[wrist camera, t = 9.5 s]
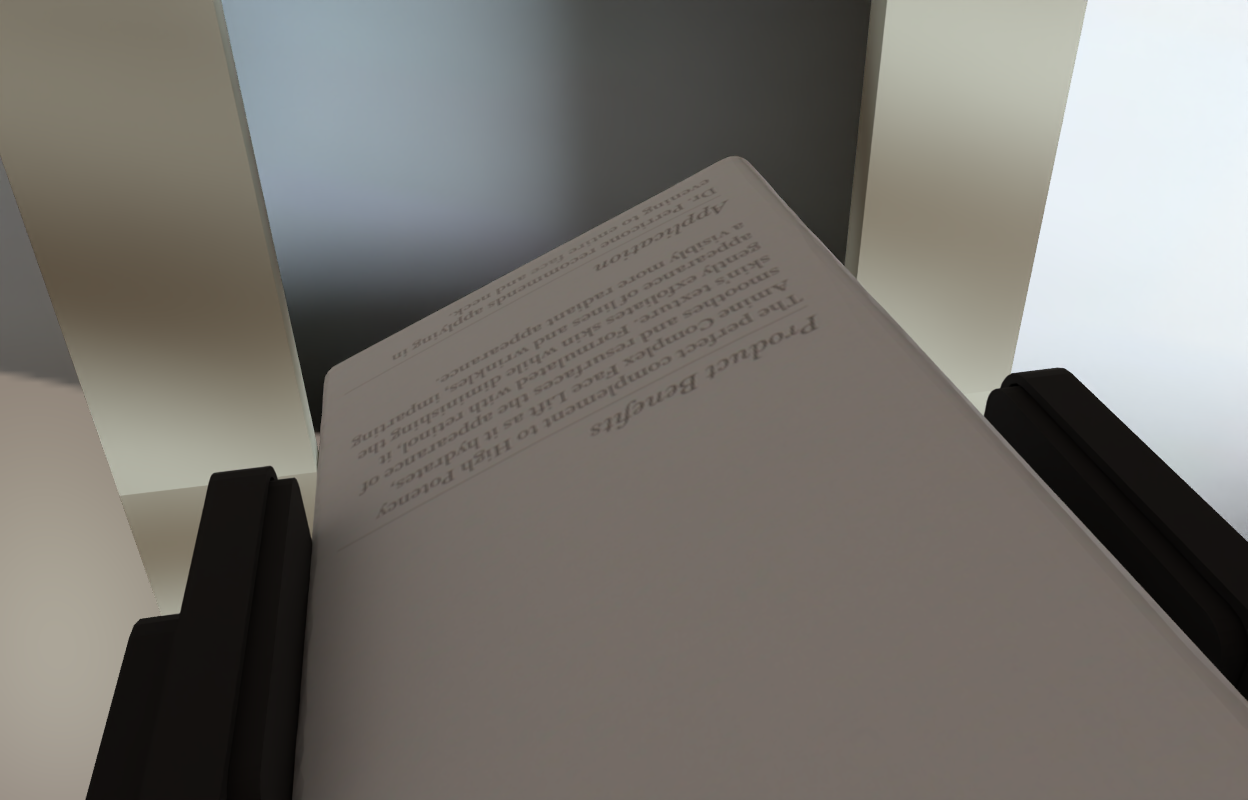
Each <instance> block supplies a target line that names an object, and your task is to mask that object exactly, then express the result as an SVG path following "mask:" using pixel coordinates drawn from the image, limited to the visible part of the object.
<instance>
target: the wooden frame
mask: <svg viewBox="0 0 1248 800" xmlns="http://www.w3.org/2000/svg"><path fill="white" fill-rule="evenodd" d="M1087 1H1088V0H871V10H870V20H869V30H868V40H867V49H866V59H865V69H864V79H863V89H862V99H861V109H860V119H859V129H858V138H857V148H856V158H855V168H854V178H853V188H852V198H851V208H850V217H849V227H848V237H847V247H846V257H845V267H846V268H847V269H848V270H849V272H850V273H851V274H852V275H853V276H854V277H855V278H856V279H857V280H858V281H859V283H860V284H861V285H862V286H863V287H864V288H865V289H866V290H867V292H868V293H869V294H870V295H871V296H872V297H873V298H874V299H875V300H876V301H877V302H878V303H879V304H880V305H881V306H882V307H883V308H884V309H885V310H886V311H887V312H888V313H889V315H890V316H891V317H892V318H893V319H894V320H895V321H896V322H897V323H898V324H899V325H900V326H901V327H902V328H903V329H904V331H905V332H906V333H907V334H908V335H909V336H910V337H911V338H912V339H913V340H914V341H915V342H916V343H917V345H918V346H919V347H920V348H921V349H922V350H923V351H924V352H925V353H926V354H927V355H928V356H929V358H930V359H931V360H932V361H933V362H934V363H935V364H936V365H937V366H938V367H939V368H940V369H941V371H942V372H943V373H944V374H945V375H946V376H947V377H948V378H949V379H950V380H951V381H952V382H953V383H954V385H955V386H956V387H957V388H958V389H959V390H960V391H961V392H962V393H963V394H964V395H965V396H966V397H967V399H968V400H969V401H970V402H971V403H972V404H973V405H974V406H975V407H976V408H977V409H978V410H979V412H980V413H981V414H982V415H983V416H984V412H985V407H986V402H987V399H988V396H989V394H990V393H991V391H992V390H994V389H998V388H1000V387H1001V384H1002V382H1003V380H1004V379H1005V378H1006V376H1008V375H1010V374H1011V369H1012V364H1013V359H1014V354H1015V349H1016V345H1017V340H1018V335H1019V330H1020V325H1021V320H1022V315H1023V311H1024V306H1025V301H1026V296H1027V291H1028V286H1029V282H1030V277H1031V272H1032V267H1033V262H1034V257H1035V253H1036V248H1037V243H1038V238H1039V233H1040V228H1041V223H1042V219H1043V214H1044V209H1045V204H1046V199H1047V194H1048V190H1049V185H1050V180H1051V175H1052V170H1053V165H1054V161H1055V156H1056V151H1057V146H1058V141H1059V136H1060V132H1061V127H1062V122H1063V117H1064V112H1065V107H1066V102H1067V98H1068V93H1069V88H1070V83H1071V78H1072V73H1073V69H1074V64H1075V59H1076V54H1077V49H1078V44H1079V40H1080V35H1081V30H1082V25H1083V20H1084V15H1085V10H1086V6H1087ZM0 156H1V159H2V162H3V165H4V168H5V170H6V173H7V176H8V179H9V182H10V185H11V188H12V190H13V193H14V196H15V199H16V202H17V205H18V208H19V210H20V213H21V216H22V219H23V222H24V225H25V228H26V230H27V233H28V236H29V239H30V242H31V245H32V248H33V250H34V253H35V256H36V259H37V262H38V265H39V268H40V270H41V273H42V276H43V279H44V282H45V285H46V288H47V290H48V293H49V296H50V299H51V302H52V305H53V307H54V310H55V313H56V316H57V319H58V322H59V325H60V327H61V330H62V333H63V336H64V339H65V342H66V345H67V347H68V350H69V353H70V356H71V359H72V362H73V365H74V367H75V370H76V373H77V376H78V379H79V382H80V385H81V387H82V390H83V393H84V396H85V399H86V402H87V405H88V407H89V410H90V413H91V416H92V419H93V422H94V425H95V427H96V430H97V433H98V436H99V438H100V442H101V445H102V447H103V450H104V453H105V456H106V459H107V462H108V464H109V467H110V470H111V473H112V476H113V479H114V482H115V484H116V487H117V490H118V493H119V496H120V499H121V502H122V504H123V507H124V510H125V513H126V516H127V519H128V522H129V524H130V527H131V530H132V533H133V536H134V539H135V542H136V545H137V547H138V550H139V553H140V556H141V559H142V562H143V565H144V567H145V570H146V573H147V576H148V579H149V582H150V584H151V587H152V590H153V593H154V596H155V599H156V602H157V605H158V607H159V610H160V613H161V616H164V615H171V614H178V613H180V610H181V606H182V601H183V597H184V592H185V588H186V583H187V579H188V574H189V569H190V565H191V560H192V556H193V551H194V547H195V542H196V538H197V533H198V529H199V524H200V520H201V515H202V510H203V506H204V501H205V497H206V492H207V488H208V483H209V480H210V477H211V475H212V474H213V473H216V472H224V471H232V470H240V469H248V468H256V467H264V466H272V467H273V468H274V470H275V472H276V475H277V478H278V479H286V478H294V477H295V478H296V479H297V481H298V484H299V487H300V491H301V495H302V500H303V504H304V508H305V513H306V517H307V521H308V526H309V530H310V534H311V539H312V531H313V518H314V506H315V494H316V482H317V469H318V461H319V451H318V447H317V442H316V438H315V433H314V428H313V424H312V419H311V414H310V410H309V405H308V401H307V396H306V391H305V387H304V382H303V377H302V373H301V368H300V363H299V359H298V354H297V350H296V345H295V340H294V336H293V331H292V326H291V322H290V317H289V313H288V308H287V303H286V299H285V294H284V289H283V285H282V280H281V275H280V271H279V266H278V262H277V257H276V252H275V248H274V243H273V238H272V234H271V229H270V225H269V220H268V215H267V211H266V206H265V201H264V197H263V192H262V187H261V183H260V178H259V174H258V169H257V164H256V160H255V155H254V150H253V146H252V141H251V137H250V132H249V127H248V123H247V118H246V113H245V109H244V104H243V99H242V95H241V90H240V86H239V81H238V76H237V72H236V67H235V62H234V58H233V53H232V49H231V44H230V39H229V35H228V30H227V25H226V21H225V16H224V11H223V7H222V2H221V0H0Z"/></svg>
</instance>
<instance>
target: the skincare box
mask: <svg viewBox="0 0 1248 800" xmlns="http://www.w3.org/2000/svg"><path fill="white" fill-rule="evenodd" d="M292 800H1248V701H1247V700H1246V699H1245V698H1244V697H1243V696H1242V695H1241V694H1240V693H1239V692H1238V691H1237V689H1236V688H1235V687H1234V686H1233V685H1232V684H1231V683H1230V682H1229V681H1228V680H1227V679H1226V678H1225V677H1224V675H1223V674H1222V673H1221V672H1220V671H1219V670H1218V669H1217V668H1216V667H1215V666H1214V665H1213V664H1212V662H1211V661H1210V660H1209V659H1208V658H1207V657H1206V656H1205V655H1204V654H1203V653H1202V652H1201V651H1200V649H1199V648H1198V647H1197V646H1196V645H1195V644H1194V643H1193V642H1192V641H1191V640H1190V639H1189V638H1188V636H1187V635H1186V634H1185V633H1184V632H1183V631H1182V630H1181V629H1180V628H1179V627H1178V626H1177V624H1176V623H1175V622H1174V621H1173V620H1172V619H1171V618H1170V617H1169V616H1168V615H1167V614H1166V613H1165V611H1164V610H1163V609H1162V608H1161V607H1160V606H1159V605H1158V604H1157V603H1156V602H1155V601H1154V600H1153V598H1152V597H1151V596H1150V595H1149V594H1148V593H1147V592H1146V591H1145V590H1144V589H1143V588H1142V587H1141V585H1140V584H1139V583H1138V582H1137V581H1136V580H1135V579H1134V578H1133V577H1132V576H1131V575H1130V573H1129V572H1128V571H1127V570H1126V569H1125V568H1124V567H1123V566H1122V565H1121V564H1120V563H1119V562H1118V561H1117V559H1116V558H1115V557H1114V556H1113V555H1112V554H1111V553H1110V552H1109V551H1108V550H1107V549H1106V548H1105V547H1104V545H1103V544H1102V543H1101V542H1100V541H1099V540H1098V539H1097V538H1096V537H1095V536H1094V535H1093V534H1092V533H1091V531H1090V530H1089V529H1088V528H1087V527H1086V526H1085V525H1084V524H1083V523H1082V522H1081V521H1080V520H1079V519H1078V517H1077V516H1076V515H1075V514H1074V513H1073V512H1072V511H1071V510H1070V509H1069V508H1068V507H1067V506H1066V505H1065V504H1064V502H1063V501H1062V500H1061V499H1060V498H1059V497H1058V496H1057V495H1056V494H1055V493H1054V492H1053V491H1052V490H1051V488H1050V487H1049V486H1048V485H1047V484H1046V483H1045V482H1044V481H1043V480H1042V479H1041V478H1040V477H1039V476H1038V474H1037V473H1036V472H1035V471H1034V470H1033V469H1032V468H1031V467H1030V466H1029V465H1028V464H1027V463H1026V461H1025V460H1024V459H1023V458H1022V457H1021V456H1020V455H1019V454H1018V453H1017V452H1016V451H1015V449H1014V448H1013V447H1012V446H1011V445H1010V444H1009V443H1008V442H1007V441H1006V440H1005V439H1004V438H1003V436H1002V435H1001V434H1000V433H999V432H998V431H997V430H996V429H995V428H994V427H993V426H992V425H991V423H990V422H989V421H988V420H987V419H986V418H985V417H984V416H983V415H982V414H981V413H980V412H979V410H978V409H977V408H976V407H975V406H974V405H973V404H972V403H971V402H970V401H969V400H968V399H967V397H966V396H965V395H964V394H963V393H962V392H961V391H960V390H959V389H958V388H957V387H956V386H955V385H954V383H953V382H952V381H951V380H950V379H949V378H948V377H947V376H946V375H945V374H944V373H943V372H942V371H941V369H940V368H939V367H938V366H937V365H936V364H935V363H934V362H933V361H932V360H931V359H930V358H929V356H928V355H927V354H926V353H925V352H924V351H923V350H922V349H921V348H920V347H919V346H918V345H917V343H916V342H915V341H914V340H913V339H912V338H911V337H910V336H909V335H908V334H907V333H906V332H905V331H904V329H903V328H902V327H901V326H900V325H899V324H898V323H897V322H896V321H895V320H894V319H893V318H892V317H891V316H890V315H889V313H888V312H887V311H886V310H885V309H884V308H883V307H882V306H881V305H880V304H879V303H878V302H877V301H876V300H875V299H874V298H873V297H872V296H871V295H870V294H869V293H868V292H867V290H866V289H865V288H864V287H863V286H862V285H861V284H860V283H859V281H858V280H857V279H856V278H855V277H854V276H853V275H852V274H851V273H850V272H849V270H848V269H847V268H846V267H845V266H844V265H843V264H842V263H841V262H840V261H839V260H838V259H837V258H836V257H835V256H834V255H833V254H832V253H831V251H830V250H829V249H828V248H827V247H826V246H825V245H824V244H823V243H822V242H821V240H820V239H819V238H818V237H817V236H816V235H815V234H814V233H813V232H812V231H811V230H810V229H809V228H808V227H807V226H806V225H805V224H804V223H803V222H802V221H801V219H800V218H799V217H798V216H797V215H796V213H795V212H794V211H793V210H792V209H791V208H790V207H789V206H788V205H787V204H786V203H785V202H784V201H783V199H782V198H781V197H780V196H779V195H778V194H777V193H776V192H775V190H774V189H773V188H772V187H771V186H770V185H769V183H768V182H767V181H766V180H765V179H764V178H763V177H762V176H761V175H760V173H759V172H758V171H757V170H756V169H755V168H754V167H753V166H752V165H751V164H750V163H749V162H748V161H747V160H745V159H744V158H742V157H739V156H729V157H727V158H724V159H722V160H720V161H718V162H716V163H714V164H712V165H710V166H709V167H707V168H705V169H703V170H701V171H699V172H698V173H696V174H694V175H692V176H690V177H688V178H687V179H685V180H683V181H681V182H679V183H678V184H676V185H674V186H672V187H670V188H668V189H666V190H665V191H663V192H661V193H659V194H657V195H655V196H653V197H651V198H650V199H648V200H646V201H644V202H642V203H640V204H638V205H636V206H634V207H633V208H631V209H629V210H627V211H625V212H623V213H621V214H619V215H618V216H616V217H614V218H612V219H610V220H608V221H606V222H604V223H602V224H601V225H599V226H597V227H595V228H593V229H591V230H589V231H587V232H585V233H583V234H582V235H580V236H578V237H576V238H574V239H572V240H570V241H568V242H566V243H565V244H563V245H561V246H559V247H557V248H555V249H553V250H551V251H549V252H548V253H546V254H544V255H542V256H540V257H538V258H536V259H534V260H532V261H530V262H529V263H527V264H525V265H523V266H521V267H519V268H517V269H515V270H514V271H512V272H510V273H508V274H506V275H504V276H502V277H500V278H499V279H497V280H495V281H493V282H491V283H489V284H487V285H485V286H483V287H482V288H480V289H478V290H476V291H474V292H472V293H470V294H468V295H467V296H465V297H463V298H461V299H459V300H457V301H455V302H453V303H452V304H450V305H448V306H446V307H444V308H442V309H440V310H438V311H437V312H435V313H433V314H431V315H429V316H427V317H425V318H423V319H422V320H420V321H418V322H416V323H414V324H412V325H410V326H408V327H406V328H405V329H403V330H401V331H399V332H397V333H395V334H393V335H391V336H390V337H388V338H386V339H384V340H382V341H380V342H378V343H376V344H374V345H373V346H371V347H369V348H367V349H365V350H363V351H361V352H359V353H358V354H356V355H354V356H352V357H350V358H348V359H346V360H345V361H343V362H341V363H339V364H337V365H336V366H334V367H332V368H331V369H330V370H329V371H328V373H327V374H326V376H325V381H324V390H323V407H322V419H321V429H320V446H319V461H318V469H317V482H316V494H315V506H314V518H313V531H312V555H311V567H310V582H309V592H308V603H307V616H306V627H305V640H304V652H303V664H302V678H301V691H300V703H299V716H298V727H297V739H296V749H295V765H294V780H293V794H292Z"/></svg>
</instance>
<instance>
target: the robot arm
mask: <svg viewBox="0 0 1248 800" xmlns="http://www.w3.org/2000/svg"><path fill="white" fill-rule="evenodd" d="M984 417H985V418H986V419H987V420H988V421H989V422H990V423H991V425H992V426H993V427H994V428H995V429H996V430H997V431H998V432H999V433H1000V434H1001V435H1002V436H1003V438H1004V439H1005V440H1006V441H1007V442H1008V443H1009V444H1010V445H1011V446H1012V447H1013V448H1014V449H1015V451H1016V452H1017V453H1018V454H1019V455H1020V456H1021V457H1022V458H1023V459H1024V460H1025V461H1026V463H1027V464H1028V465H1029V466H1030V467H1031V468H1032V469H1033V470H1034V471H1035V472H1036V473H1037V474H1038V476H1039V477H1040V478H1041V479H1042V480H1043V481H1044V482H1045V483H1046V484H1047V485H1048V486H1049V487H1050V488H1051V490H1052V491H1053V492H1054V493H1055V494H1056V495H1057V496H1058V497H1059V498H1060V499H1061V500H1062V501H1063V502H1064V504H1065V505H1066V506H1067V507H1068V508H1069V509H1070V510H1071V511H1072V512H1073V513H1074V514H1075V515H1076V516H1077V517H1078V519H1079V520H1080V521H1081V522H1082V523H1083V524H1084V525H1085V526H1086V527H1087V528H1088V529H1089V530H1090V531H1091V533H1092V534H1093V535H1094V536H1095V537H1096V538H1097V539H1098V540H1099V541H1100V542H1101V543H1102V544H1103V545H1104V547H1105V548H1106V549H1107V550H1108V551H1109V552H1110V553H1111V554H1112V555H1113V556H1114V557H1115V558H1116V559H1117V561H1118V562H1119V563H1120V564H1121V565H1122V566H1123V567H1124V568H1125V569H1126V570H1127V571H1128V572H1129V573H1130V575H1131V576H1132V577H1133V578H1134V579H1135V580H1136V581H1137V582H1138V583H1139V584H1140V585H1141V587H1142V588H1143V589H1144V590H1145V591H1146V592H1147V593H1148V594H1149V595H1150V596H1151V597H1152V598H1153V600H1154V601H1155V602H1156V603H1157V604H1158V605H1159V606H1160V607H1161V608H1162V609H1163V610H1164V611H1165V613H1166V614H1167V615H1168V616H1169V617H1170V618H1171V619H1172V620H1173V621H1174V622H1175V623H1176V624H1177V626H1178V627H1179V628H1180V629H1181V630H1182V631H1183V632H1184V633H1185V634H1186V635H1187V636H1188V638H1189V639H1190V640H1191V641H1192V642H1193V643H1194V644H1195V645H1196V646H1197V647H1198V648H1199V649H1200V651H1201V652H1202V653H1203V654H1204V655H1205V656H1206V657H1207V658H1208V659H1209V660H1210V661H1211V662H1212V664H1213V665H1214V666H1215V667H1216V668H1217V669H1218V670H1219V671H1220V672H1221V673H1222V674H1223V675H1224V677H1225V678H1226V679H1227V680H1228V681H1229V682H1230V683H1231V684H1232V685H1233V686H1234V687H1235V688H1236V689H1237V691H1238V692H1239V693H1240V694H1241V695H1242V696H1243V697H1244V698H1245V699H1246V700H1247V701H1248V542H1247V541H1246V540H1245V539H1244V538H1243V537H1242V536H1241V535H1240V534H1239V533H1238V532H1237V531H1236V530H1235V529H1234V528H1233V527H1232V526H1231V525H1230V524H1228V523H1227V522H1226V521H1225V520H1224V519H1223V518H1222V517H1221V516H1220V515H1219V514H1218V513H1217V512H1216V511H1215V510H1214V509H1213V508H1212V507H1211V506H1210V505H1209V504H1208V503H1207V502H1205V501H1204V500H1203V499H1202V498H1201V497H1200V496H1199V495H1198V494H1197V493H1196V492H1195V491H1194V490H1193V489H1192V488H1191V487H1190V486H1189V485H1188V484H1187V483H1186V482H1185V481H1184V480H1183V479H1181V478H1180V477H1179V476H1178V475H1177V474H1176V473H1175V472H1174V471H1173V470H1172V469H1171V468H1170V467H1169V466H1168V465H1167V464H1166V463H1165V462H1164V461H1163V460H1162V459H1161V458H1160V457H1158V456H1157V455H1156V454H1155V453H1154V452H1153V451H1152V450H1151V449H1150V448H1149V447H1148V446H1147V445H1146V444H1145V443H1144V442H1143V441H1142V440H1141V439H1140V438H1139V437H1138V436H1137V435H1135V434H1134V433H1133V432H1132V431H1131V430H1130V429H1129V428H1128V427H1127V426H1126V425H1125V424H1124V423H1123V422H1122V421H1121V420H1120V419H1119V418H1118V417H1117V416H1116V415H1115V414H1114V413H1113V412H1111V411H1110V410H1109V409H1108V408H1107V407H1106V406H1105V405H1104V404H1103V403H1102V402H1101V401H1100V400H1099V399H1098V398H1097V397H1096V396H1095V395H1094V394H1093V393H1092V392H1091V391H1090V390H1088V389H1087V388H1086V387H1085V386H1084V385H1083V384H1082V383H1081V382H1080V381H1079V380H1078V379H1077V378H1076V377H1075V376H1074V375H1073V374H1072V373H1071V372H1069V371H1068V370H1066V369H1064V368H1051V369H1043V370H1035V371H1027V372H1019V373H1012V374H1010V375H1008V376H1006V378H1005V379H1004V380H1003V382H1002V384H1001V387H1000V388H998V389H994V390H992V391H991V393H990V394H989V396H988V399H987V402H986V407H985V412H984ZM311 555H312V539H311V534H310V530H309V526H308V521H307V517H306V513H305V508H304V504H303V500H302V495H301V491H300V487H299V484H298V481H297V479H296V478H295V477H294V478H286V479H278V478H277V475H276V472H275V470H274V468H273V467H272V466H264V467H256V468H248V469H240V470H232V471H224V472H216V473H213V474H212V475H211V477H210V480H209V483H208V488H207V492H206V497H205V501H204V506H203V510H202V515H201V520H200V524H199V529H198V533H197V538H196V542H195V547H194V551H193V556H192V560H191V565H190V569H189V574H188V579H187V583H186V588H185V592H184V597H183V601H182V606H181V610H180V613H178V614H171V615H164V616H157V617H150V618H143V619H140V620H139V621H138V622H137V623H136V624H135V625H134V627H133V629H132V632H131V634H130V637H129V640H128V644H127V647H126V651H125V655H124V659H123V663H122V666H121V670H120V673H119V677H118V681H117V685H116V688H115V692H114V696H113V699H112V703H111V707H110V711H109V714H108V718H107V722H106V726H105V729H104V733H103V737H102V741H101V744H100V748H99V752H98V755H97V759H96V763H95V767H94V770H93V774H92V777H91V781H90V785H89V789H88V792H87V796H86V800H292V794H293V780H294V765H295V749H296V739H297V727H298V716H299V703H300V691H301V678H302V664H303V652H304V640H305V627H306V616H307V603H308V592H309V582H310V567H311Z"/></svg>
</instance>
